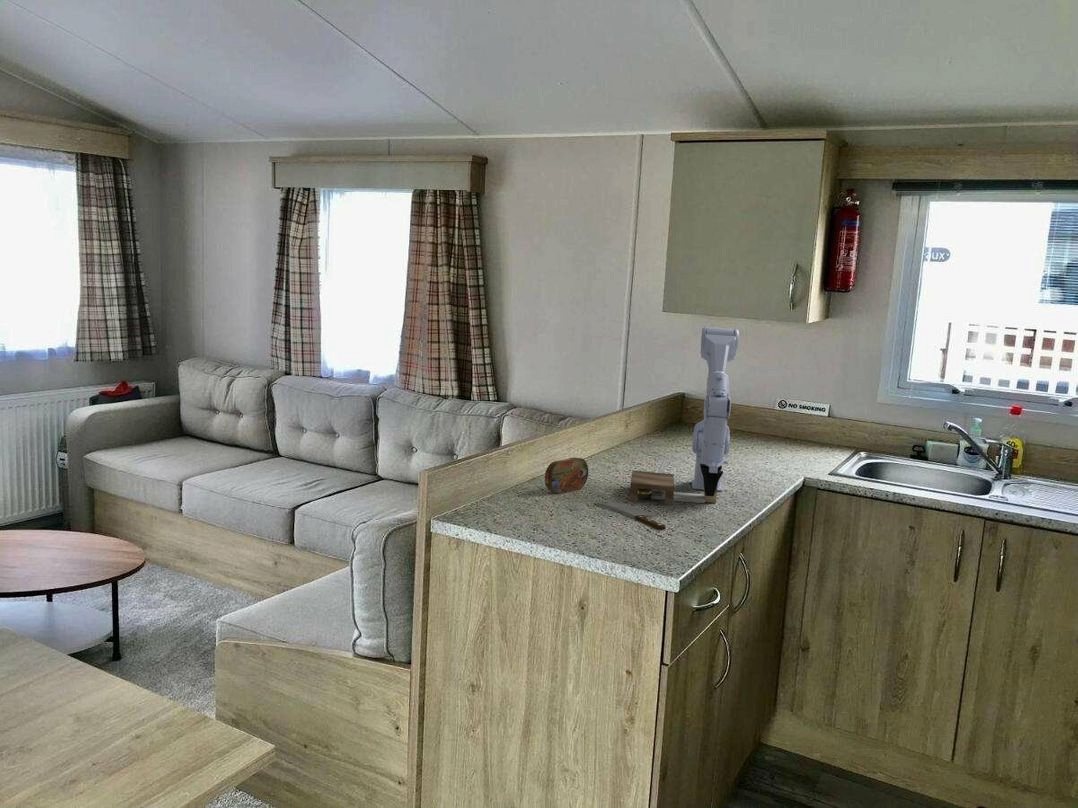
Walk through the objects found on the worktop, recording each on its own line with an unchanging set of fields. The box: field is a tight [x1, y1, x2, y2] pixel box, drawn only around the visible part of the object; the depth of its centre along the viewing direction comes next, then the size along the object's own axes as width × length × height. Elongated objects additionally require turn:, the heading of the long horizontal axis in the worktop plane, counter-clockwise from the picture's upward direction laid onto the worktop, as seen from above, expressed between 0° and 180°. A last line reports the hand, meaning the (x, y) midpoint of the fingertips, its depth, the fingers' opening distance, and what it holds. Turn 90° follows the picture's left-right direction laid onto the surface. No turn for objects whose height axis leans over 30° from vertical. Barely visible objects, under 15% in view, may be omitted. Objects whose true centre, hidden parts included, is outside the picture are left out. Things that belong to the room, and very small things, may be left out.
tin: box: [544, 457, 589, 495], centre depth 234 cm, size 15×3×8 cm, turn 137°
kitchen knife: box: [596, 500, 666, 531], centre depth 215 cm, size 24×1×10 cm
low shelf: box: [628, 470, 675, 506], centre depth 233 cm, size 14×11×5 cm
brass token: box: [637, 488, 653, 499], centre depth 234 cm, size 5×5×2 cm
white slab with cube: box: [651, 484, 718, 504], centre depth 232 cm, size 6×16×6 cm, turn 83°
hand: (709, 494), depth 232 cm, fingers closed on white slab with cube, 3 cm apart
